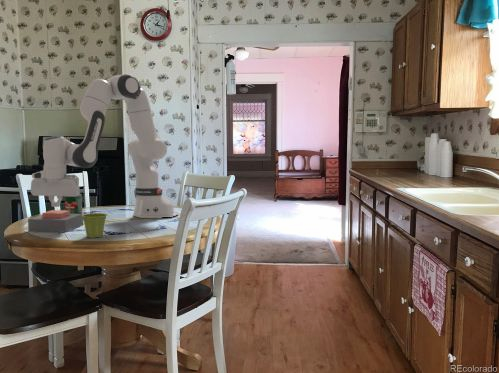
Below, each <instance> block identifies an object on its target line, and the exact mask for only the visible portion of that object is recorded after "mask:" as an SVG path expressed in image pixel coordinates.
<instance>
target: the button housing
mask: <svg viewBox="0 0 499 373" xmlns="http://www.w3.org/2000/svg"><path fill="white" fill-rule="evenodd" d="M82 215H84V214H83V213H82V214H70V216H67V217H64V218H43V217H42V214H41V215H37V216H35V217H30V218H28V219H27V225H28V226H27V228H28V229H27V230H28V232H42V231H44V232H45V233H47V232H49V233H68V232H69V231H72V230H75V229H77V228H79V227H82V226H84V220H83V217H82Z"/></svg>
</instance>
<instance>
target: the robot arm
mask: <svg viewBox="0 0 499 373" xmlns="http://www.w3.org/2000/svg"><path fill="white" fill-rule="evenodd" d="M116 100H117V101H118V100H123V101H124V103H125V104H126V109H127V110H126V111H127V115H128V120H129V124H130V128H131V130H132V131H133V132H134V134H135V135H136V137H137V138H135V139H132V140H131V141H130V142H129V143H128V146H127V152H128V155H129V156H130V157H131V159H132V163H133V165H134V172H135V188H134V189H135V191H134V198H135V203H134V204H135V205H134V210H133V214H132V216H133V217H137V218H139V219H163V218H162V217H173V216H176V215H178V216H179V213H178V211H175V209H174V204H173V202H172V201H170V200H169V199H168V198H167V197H166V196H164V195H163V188H161V187H160V186H159V172H158V170H157V168H156V166H155V164H154V161H160V160H162V159H163V158H165V157H166V155H167V151H168V147H167V144H166V143H165V141H163V140H162V139H161V137H160V135H159V134H158V131H157V129H156V126H155V124H154V119H153V114H152V109H151V105H150V101H149V98H148V96H147V93H146V91H145V90H144V89H143V88H141V84H140V83H139V80H138V79H137V77H135V76H134V75H132V74H126V73H125V74H117V75H114V76H110V77H107V78H105V79H102V78H95V79H93V80H92V81H91V82H90V84H89V86H88V87H87V89H86V91H85V93H84V95H83V97H82V100H81V102H80V107H79V112H80V114H81V116H82V118H83V119H85V120H86V121H87V128H86V132H85V133H84V134H85V135H84V138H83V141H82V142H81V143H80V144H76V143H74V142H72V141H70V140H68V139H66V137H64V136H63V135H54V136H48V137H46V138H45V139H44V141H43V148H42V151H43V152H42V156H43V160H44V164H43V170H40V171H37V172H34V173H32V174H31V178H32V180H31V182H30V193H31V195H32V196H37V197H39V196H40V197H41V196H43V197H48V200H49V201H50V203H51V205H50V206H51V207H52V208H53V207H54V208H59V207H60V206H61V202H62V201H63V197H65V196H67V197H76V196H78V195H79V194H81V191H80V184H79V183H80V178H79V176H78V175H76V174H67V166H70V167H71V166H72V167H79V168H82V169H90V168H92V167H93V166H94V165H95V164H96V163H97V161H98V155H99V154H98V152H99V150H98V149H99V144H100V141H101V138H102V134H103V130H104V126H105V123H106V122H105V120H106V112H107V110H108V107H109V104H110V101H116ZM55 197H56V199H57V201H55V200H54V199H55ZM176 217H177V216H176ZM173 218H174V217H173Z"/></svg>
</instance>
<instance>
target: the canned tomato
mask: <svg viewBox="0 0 499 373" xmlns="http://www.w3.org/2000/svg"><path fill="white" fill-rule="evenodd" d="M82 196H83V194H81V193H80V194H79V195H78V196H76V197H67V196H64V211H70V214H83V197H82Z"/></svg>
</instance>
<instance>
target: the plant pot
mask: <svg viewBox="0 0 499 373" xmlns="http://www.w3.org/2000/svg"><path fill="white" fill-rule="evenodd" d="M107 216H108V214H107V213H101V212H98V213H97V212H96V213H95V212H94V213H93V212H91V213H85V214H83V215H82V217H83V225H84V228H85V235H86V237H87V238H88V239H95V238H102V237H103V236H104V230H105V222H106V219H107Z"/></svg>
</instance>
